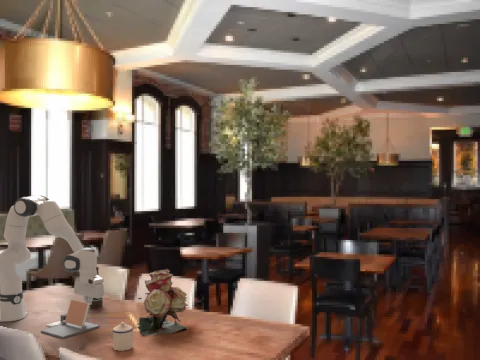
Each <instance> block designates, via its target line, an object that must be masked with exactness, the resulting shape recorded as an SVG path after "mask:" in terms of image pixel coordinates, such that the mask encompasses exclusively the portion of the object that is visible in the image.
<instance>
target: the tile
mask: <svg viewBox="0 0 480 360" xmlns="http://www.w3.org/2000/svg"><path fill="white" fill-rule="evenodd" d="M69 302H70V303H69V306H68V310H67V313H66V314H67V316H66V320H65V323H69V324H73V325H77V326H81V327H82V326H84V324H85V322H86V319H87V317H88V312H89V309H90V307H89V305H90V303H87V302H85V301H81V300H76V299H72V298H71V299H70V301H69Z"/></svg>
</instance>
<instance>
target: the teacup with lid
mask: <svg viewBox="0 0 480 360" xmlns="http://www.w3.org/2000/svg"><path fill="white" fill-rule="evenodd" d="M133 330H134V328H133V326H132V325H129V324H126V323H125V322H124V321H121V322H120V324H118V325H116V326H114V327H113V329H112V330H111V331H110V334H109V335H110V339H111V341H112V343H113V344H112V345H113V346H112V349H113V350H114V351H116V350H118V351H117V352H125V350H126V351H129V350H132V348H133V347H134V346H133V344H134V343H133V342H134V341H133V339H134V338H133V336H134V334H133V332H134V331H133Z"/></svg>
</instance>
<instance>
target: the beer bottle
mask: <svg viewBox="0 0 480 360" xmlns="http://www.w3.org/2000/svg"><path fill="white" fill-rule="evenodd" d="M99 269H100V268H99V267H98V266H96V270H97V275H99V276H100V274H99ZM103 297H104V296H103ZM103 297H102V298H98V299H97V298H93V300H92V304H91V305H89V308H90V307H91V308H90V309H98V308H97V307H100V308H102V307H103V303H104V301H103ZM101 306H102V307H101Z"/></svg>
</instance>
